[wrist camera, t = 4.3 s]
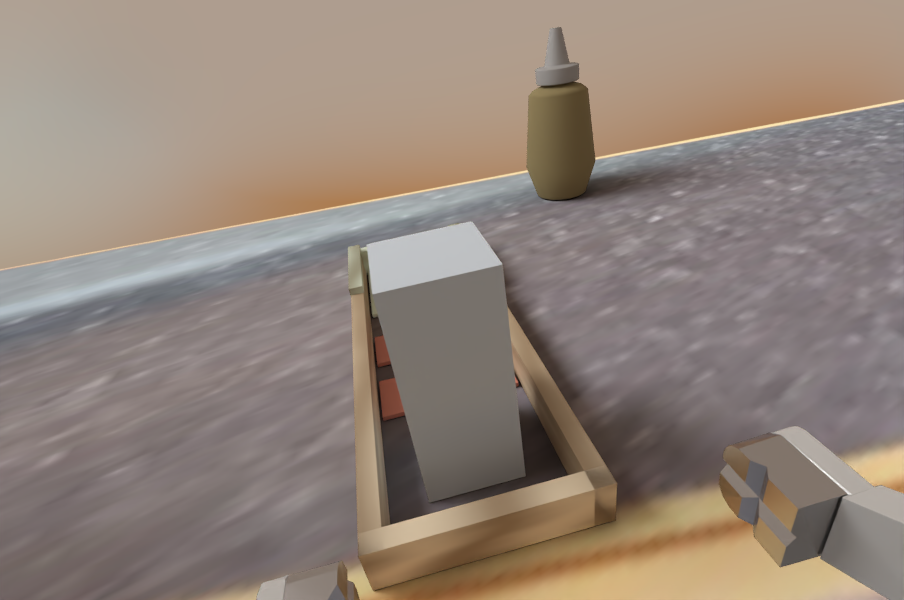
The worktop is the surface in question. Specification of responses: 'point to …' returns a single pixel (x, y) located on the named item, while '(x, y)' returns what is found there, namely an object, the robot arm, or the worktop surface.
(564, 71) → the squeeze bottle
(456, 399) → the blue-grey block
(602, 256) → the worktop surface
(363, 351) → the channel
